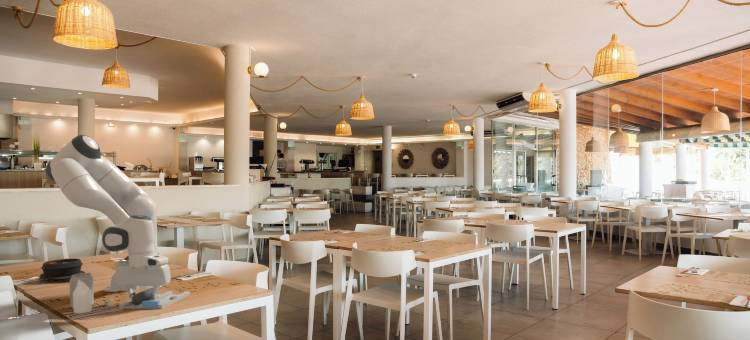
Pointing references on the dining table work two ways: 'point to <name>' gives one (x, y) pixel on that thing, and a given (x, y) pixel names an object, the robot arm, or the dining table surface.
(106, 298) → the dining table surface
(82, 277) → the can
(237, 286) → the dining table surface
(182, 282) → the dining table surface
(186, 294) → the grey shallow tray
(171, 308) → the dining table surface
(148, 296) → the dark grey capsule
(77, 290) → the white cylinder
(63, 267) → the casserole
